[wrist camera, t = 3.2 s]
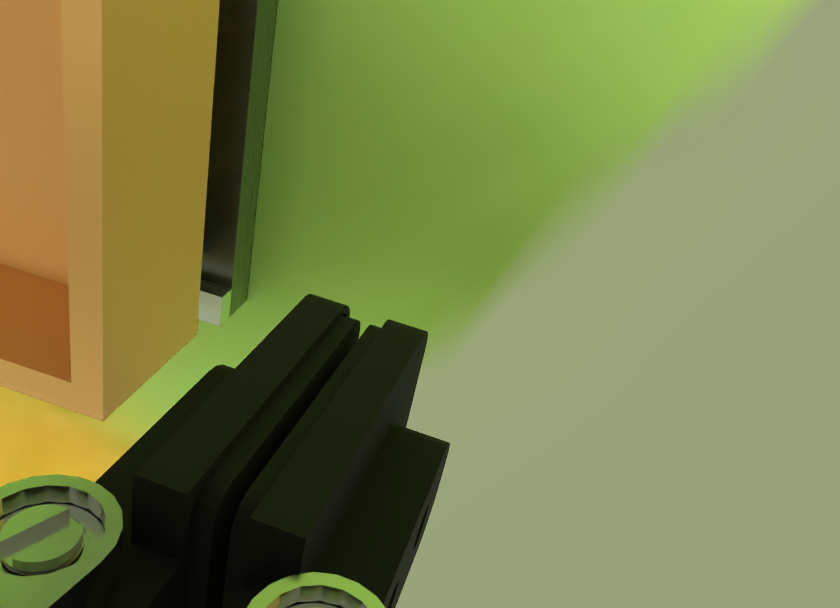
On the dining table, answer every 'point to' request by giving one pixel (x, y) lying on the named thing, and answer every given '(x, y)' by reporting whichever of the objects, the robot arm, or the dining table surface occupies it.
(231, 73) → the grey flat slab
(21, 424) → the dining table surface
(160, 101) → the orange open tray
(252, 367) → the robot arm
